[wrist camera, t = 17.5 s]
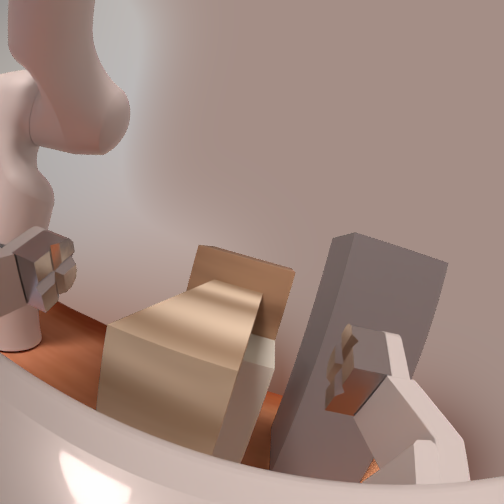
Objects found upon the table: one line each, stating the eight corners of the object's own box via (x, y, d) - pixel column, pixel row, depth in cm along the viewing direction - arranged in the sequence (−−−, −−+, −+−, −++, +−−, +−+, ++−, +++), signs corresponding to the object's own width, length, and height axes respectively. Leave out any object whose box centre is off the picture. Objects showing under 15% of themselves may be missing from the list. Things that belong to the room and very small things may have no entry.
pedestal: (269, 476, 27) (355, 232, 27) (271, 427, 38) (332, 238, 38) (355, 488, 27) (448, 263, 26) (340, 440, 38) (405, 260, 37)
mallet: (271, 477, 7) (335, 311, 7) (49, 391, 8) (70, 231, 8) (275, 322, 28) (291, 268, 28) (200, 300, 29) (214, 246, 29)
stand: (123, 510, 17) (151, 330, 17) (166, 441, 29) (200, 299, 29) (209, 540, 17) (274, 368, 16) (228, 461, 29) (274, 322, 28)
